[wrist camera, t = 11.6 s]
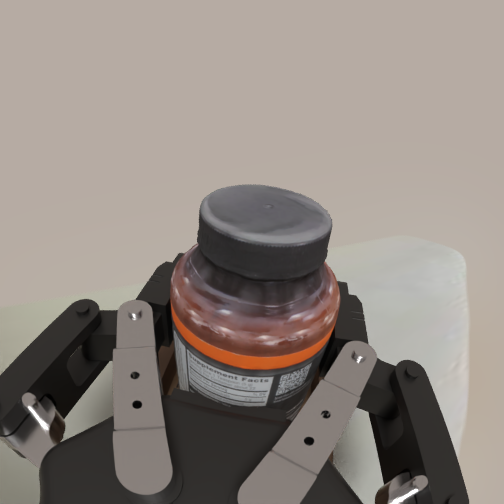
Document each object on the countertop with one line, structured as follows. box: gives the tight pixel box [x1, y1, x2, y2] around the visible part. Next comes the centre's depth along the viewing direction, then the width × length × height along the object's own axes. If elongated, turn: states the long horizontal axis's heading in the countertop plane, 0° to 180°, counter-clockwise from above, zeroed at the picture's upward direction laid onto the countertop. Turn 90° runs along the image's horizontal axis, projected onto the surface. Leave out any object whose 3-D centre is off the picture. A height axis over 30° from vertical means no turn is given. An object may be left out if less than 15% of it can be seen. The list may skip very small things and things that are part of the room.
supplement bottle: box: [170, 185, 340, 421], centre depth 12 cm, size 6×6×11 cm
